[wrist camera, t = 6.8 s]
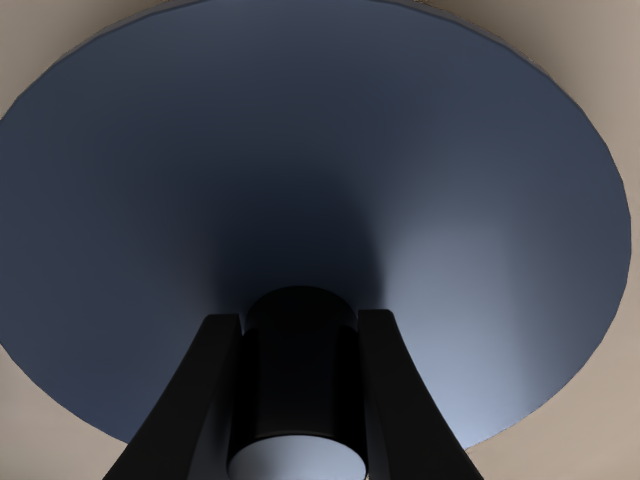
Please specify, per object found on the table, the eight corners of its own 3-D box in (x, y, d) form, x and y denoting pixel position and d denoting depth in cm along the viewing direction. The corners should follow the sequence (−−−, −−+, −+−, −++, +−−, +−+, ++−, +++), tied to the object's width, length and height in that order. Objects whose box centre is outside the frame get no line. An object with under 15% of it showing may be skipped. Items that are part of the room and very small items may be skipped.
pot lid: (533, 440, 16) (591, 606, 13) (99, 451, 17) (43, 618, 13) (722, -48, 8) (1022, 59, 5) (-156, -10, 8) (-486, 118, 5)
